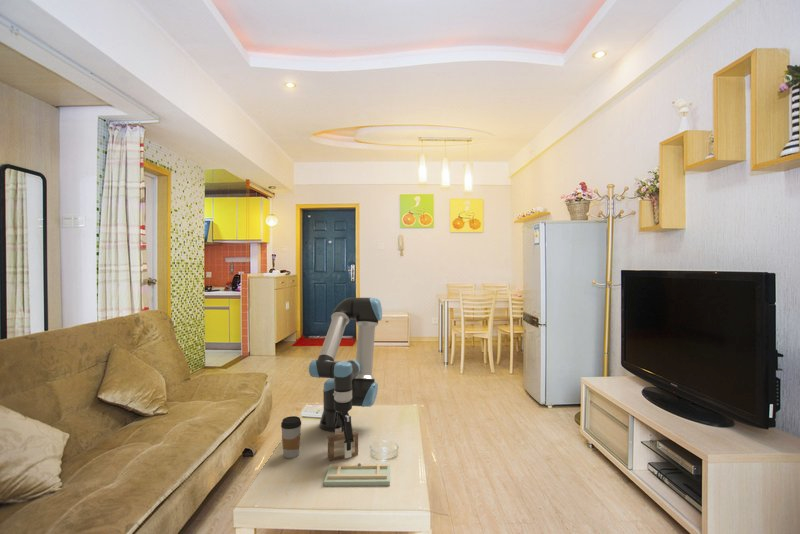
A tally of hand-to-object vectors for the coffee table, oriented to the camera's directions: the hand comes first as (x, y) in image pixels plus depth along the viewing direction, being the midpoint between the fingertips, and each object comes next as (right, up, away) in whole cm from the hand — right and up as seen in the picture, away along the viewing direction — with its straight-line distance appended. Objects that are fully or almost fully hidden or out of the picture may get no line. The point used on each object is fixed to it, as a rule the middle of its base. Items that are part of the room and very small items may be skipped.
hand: (342, 450), depth 163 cm
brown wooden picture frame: (0, -3, 0) cm, 3 cm away
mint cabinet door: (+8, -3, -16) cm, 18 cm away
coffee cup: (-22, -3, +1) cm, 22 cm away
